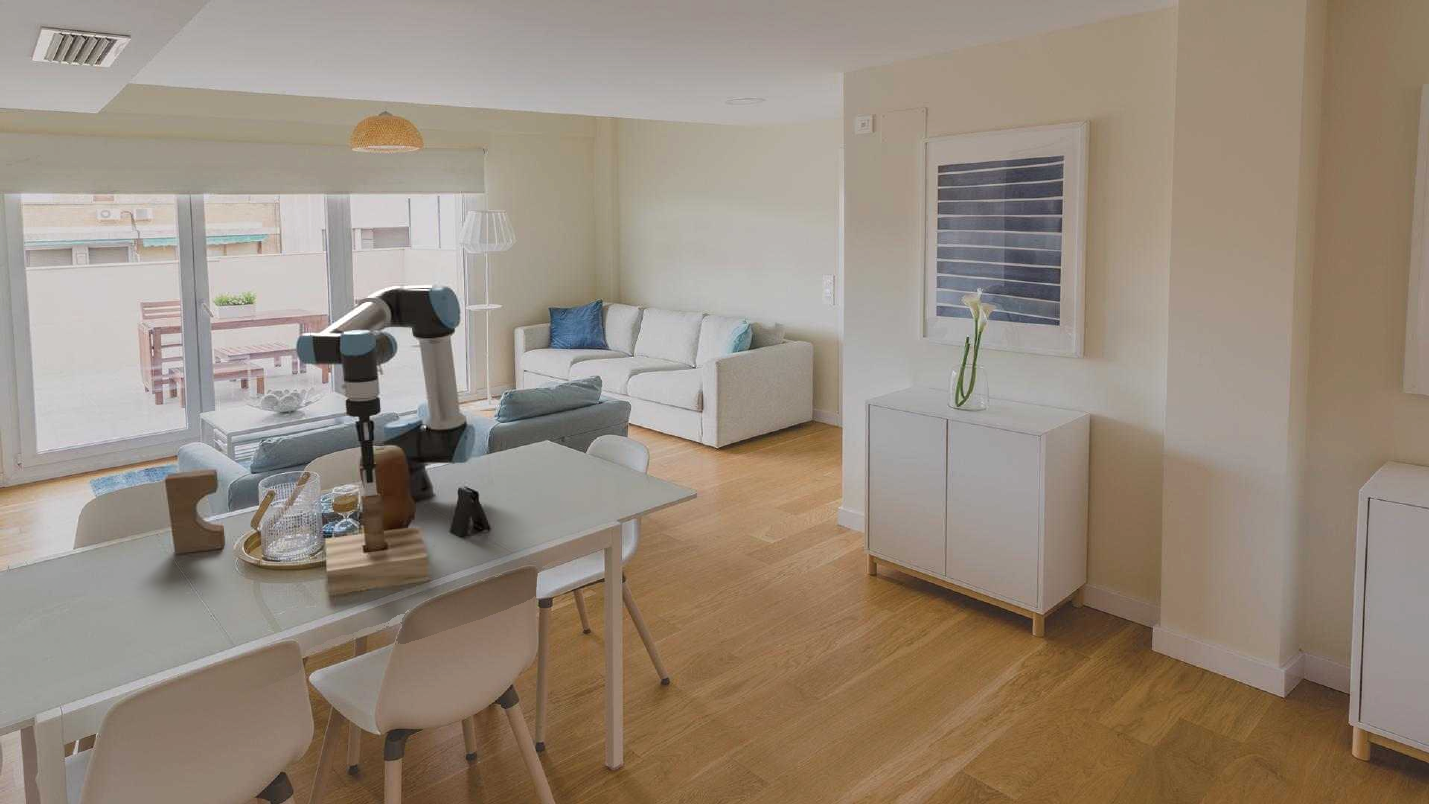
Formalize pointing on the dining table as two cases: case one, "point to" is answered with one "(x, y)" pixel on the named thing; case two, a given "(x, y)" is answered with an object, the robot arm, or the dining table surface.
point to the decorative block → (192, 511)
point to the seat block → (376, 561)
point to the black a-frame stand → (468, 514)
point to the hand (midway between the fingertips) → (370, 494)
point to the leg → (373, 523)
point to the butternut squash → (393, 487)
